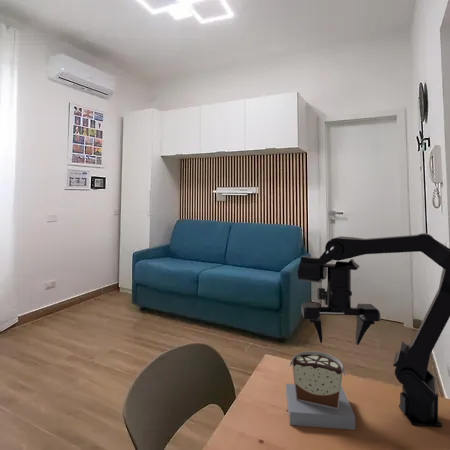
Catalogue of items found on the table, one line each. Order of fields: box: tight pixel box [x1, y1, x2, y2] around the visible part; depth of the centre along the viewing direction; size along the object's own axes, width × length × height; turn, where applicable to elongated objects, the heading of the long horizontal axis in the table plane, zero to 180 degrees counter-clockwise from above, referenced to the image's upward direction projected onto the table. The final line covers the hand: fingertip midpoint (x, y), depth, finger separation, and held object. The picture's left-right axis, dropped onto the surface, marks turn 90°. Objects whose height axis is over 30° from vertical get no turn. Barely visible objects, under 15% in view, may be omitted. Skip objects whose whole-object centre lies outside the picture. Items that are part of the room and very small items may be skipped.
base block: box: [285, 383, 356, 431], centre depth 71 cm, size 14×11×3 cm
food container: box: [289, 350, 346, 409], centre depth 71 cm, size 12×6×10 cm, turn 68°
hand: (338, 343), depth 78 cm, fingers open, 9 cm apart
